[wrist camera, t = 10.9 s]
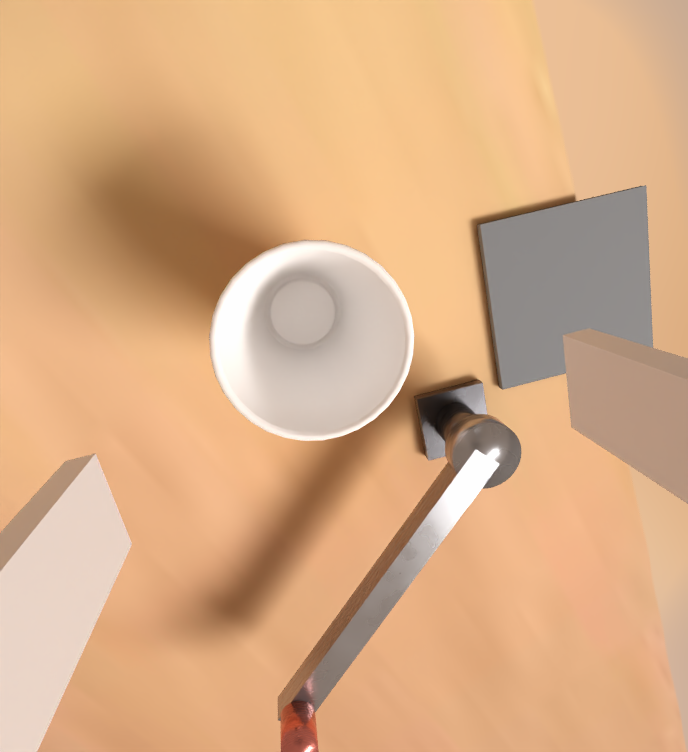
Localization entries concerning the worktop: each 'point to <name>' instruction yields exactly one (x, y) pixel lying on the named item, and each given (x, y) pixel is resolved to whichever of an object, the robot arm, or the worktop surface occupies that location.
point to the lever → (397, 569)
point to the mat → (565, 280)
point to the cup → (311, 340)
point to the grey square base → (447, 413)
